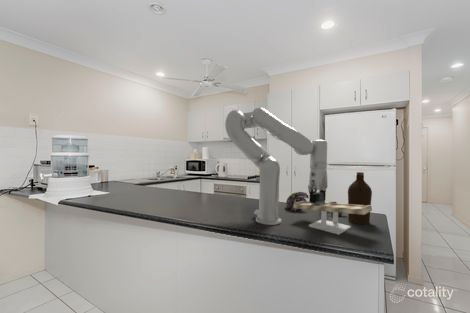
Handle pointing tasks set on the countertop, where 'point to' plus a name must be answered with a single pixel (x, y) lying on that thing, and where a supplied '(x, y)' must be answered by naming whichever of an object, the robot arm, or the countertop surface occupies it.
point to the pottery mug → (338, 212)
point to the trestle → (330, 224)
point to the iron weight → (319, 199)
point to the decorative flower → (295, 200)
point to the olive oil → (359, 198)
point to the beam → (335, 207)
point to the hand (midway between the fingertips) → (317, 201)
